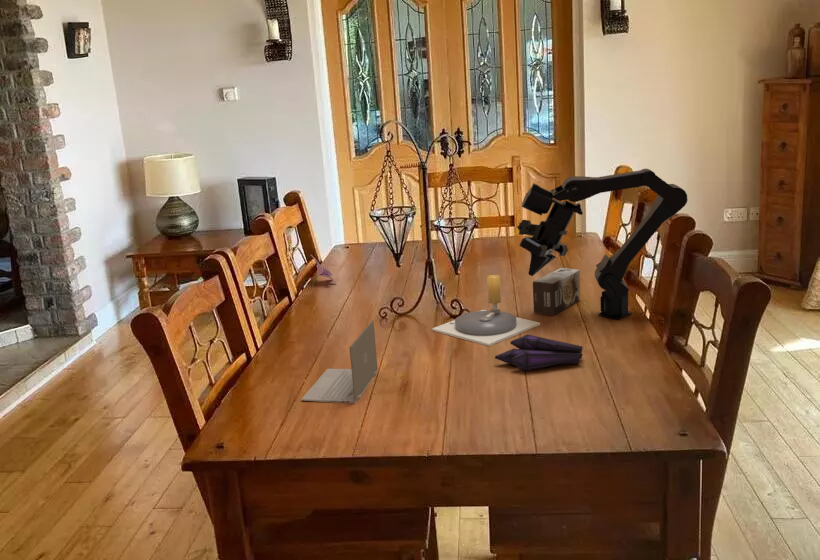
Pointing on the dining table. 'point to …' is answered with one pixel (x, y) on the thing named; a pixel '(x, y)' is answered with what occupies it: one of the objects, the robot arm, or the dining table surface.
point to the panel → (486, 339)
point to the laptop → (348, 373)
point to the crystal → (540, 353)
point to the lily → (322, 271)
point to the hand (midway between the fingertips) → (530, 275)
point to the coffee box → (556, 291)
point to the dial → (487, 315)
